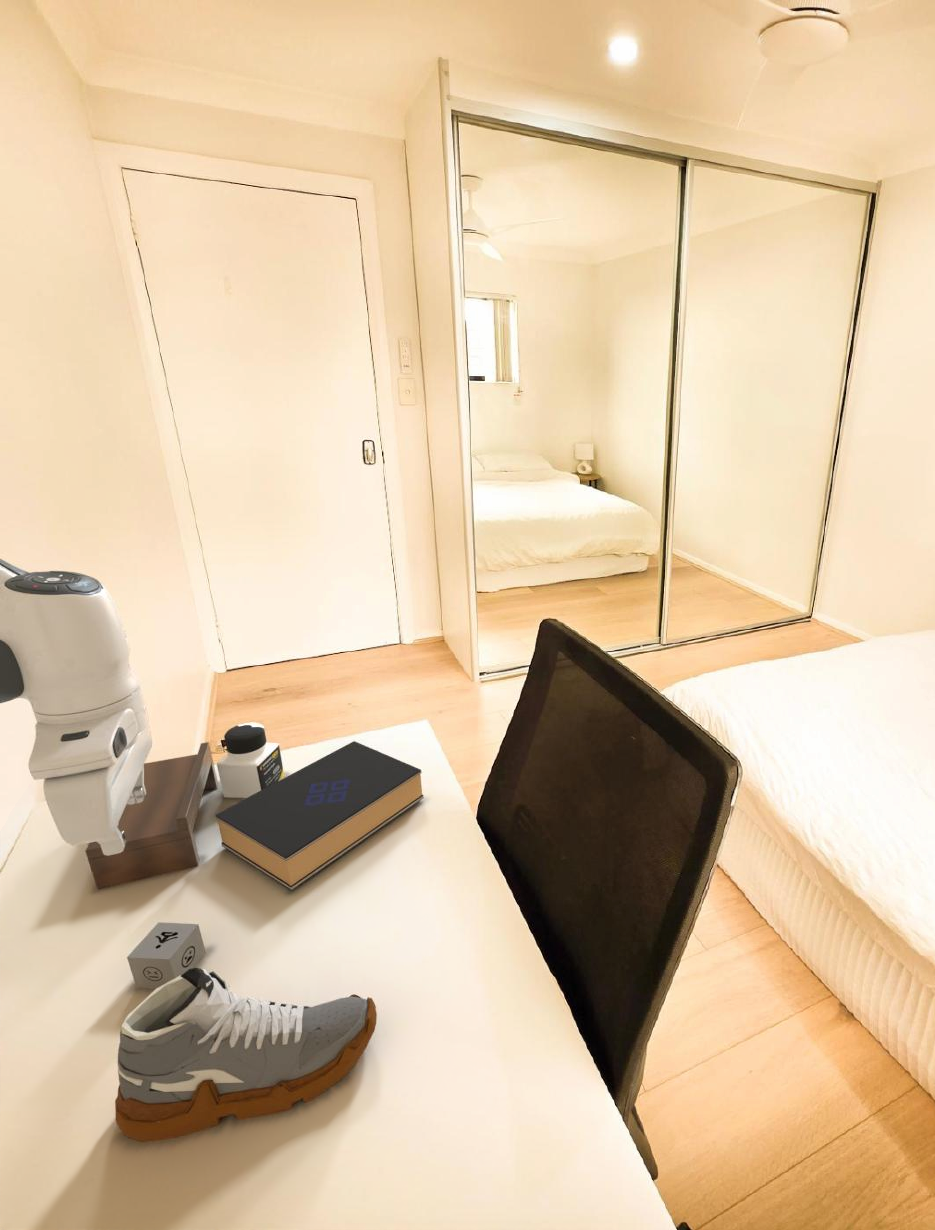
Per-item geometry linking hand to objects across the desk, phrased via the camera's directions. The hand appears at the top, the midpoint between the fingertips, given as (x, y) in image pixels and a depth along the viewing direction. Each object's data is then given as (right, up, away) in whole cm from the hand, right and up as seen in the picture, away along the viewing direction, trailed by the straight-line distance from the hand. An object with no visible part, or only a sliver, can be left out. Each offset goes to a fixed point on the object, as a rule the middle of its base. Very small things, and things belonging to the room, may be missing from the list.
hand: (127, 823), depth 70 cm
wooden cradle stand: (-16, -11, +27) cm, 33 cm away
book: (+9, -11, +30) cm, 33 cm away
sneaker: (+19, -24, -7) cm, 32 cm away
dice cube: (+2, -20, +4) cm, 20 cm away
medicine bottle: (-8, -7, +39) cm, 40 cm away
